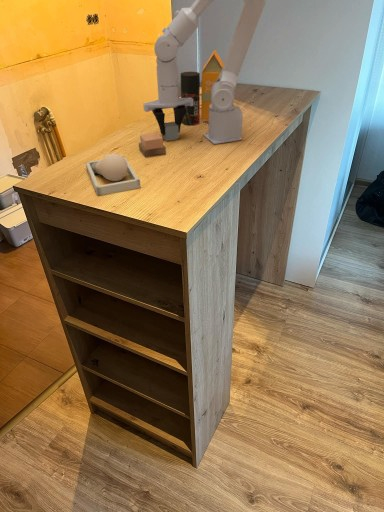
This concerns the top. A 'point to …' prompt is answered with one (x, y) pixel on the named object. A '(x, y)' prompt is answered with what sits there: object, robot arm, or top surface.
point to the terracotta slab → (151, 141)
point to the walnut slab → (152, 151)
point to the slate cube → (171, 131)
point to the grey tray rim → (114, 186)
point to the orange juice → (209, 81)
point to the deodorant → (191, 89)
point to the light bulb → (111, 167)
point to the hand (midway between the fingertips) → (170, 133)
